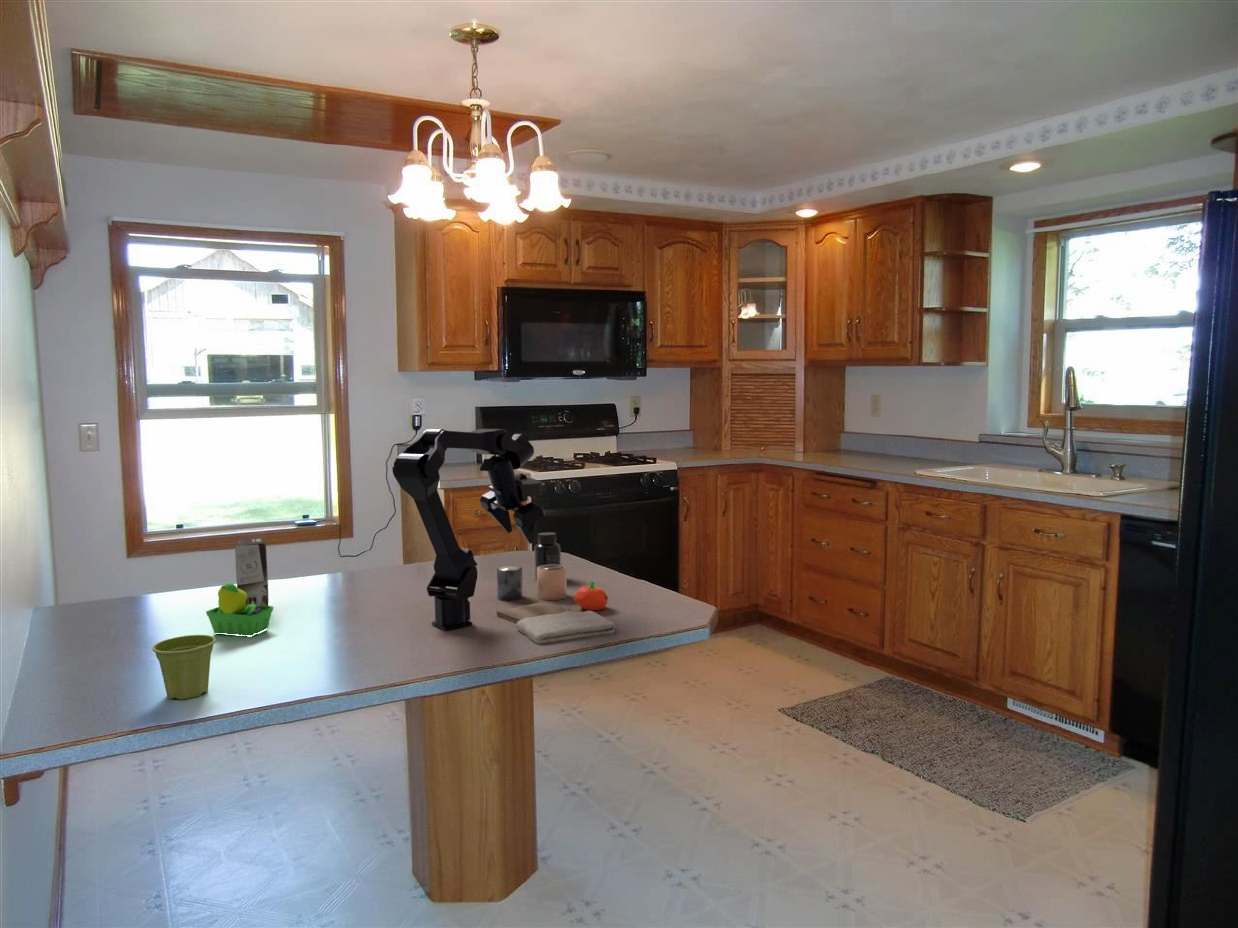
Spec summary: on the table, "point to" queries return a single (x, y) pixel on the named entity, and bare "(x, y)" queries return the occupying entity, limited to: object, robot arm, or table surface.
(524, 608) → the walnut board
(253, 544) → the coffee box
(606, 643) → the table surface
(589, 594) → the pumpkin
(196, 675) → the plant pot
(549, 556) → the supplement bottle
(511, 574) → the black metal can
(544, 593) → the terracotta cup
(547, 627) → the washcloth
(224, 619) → the fruit basket
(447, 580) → the robot arm
